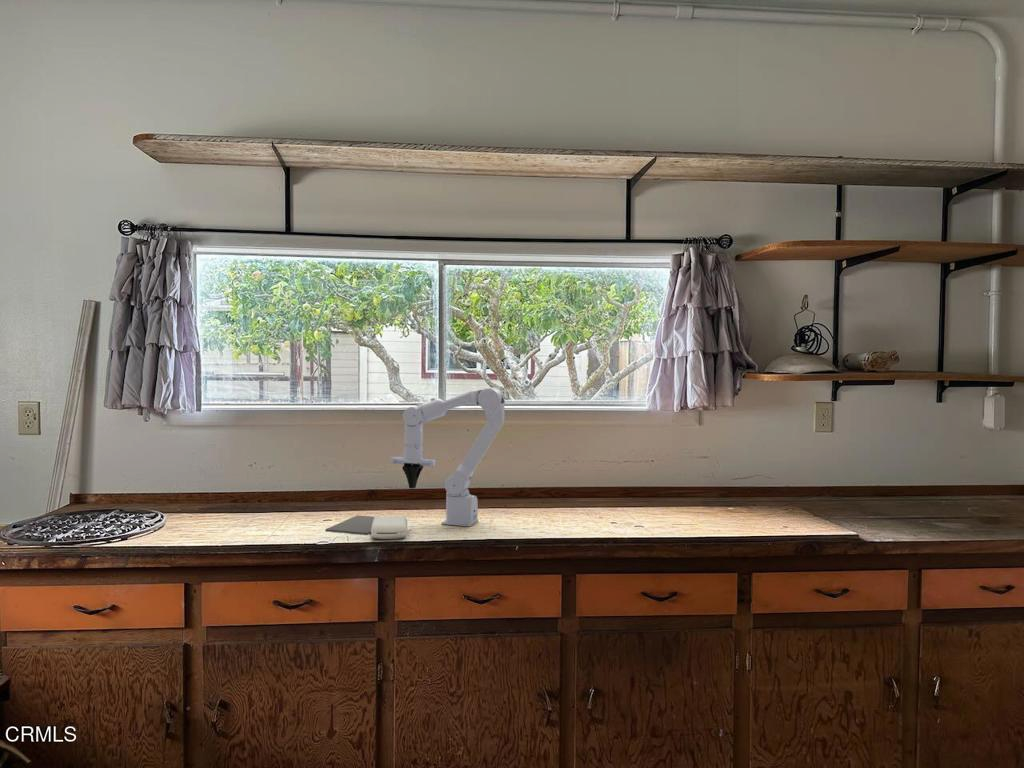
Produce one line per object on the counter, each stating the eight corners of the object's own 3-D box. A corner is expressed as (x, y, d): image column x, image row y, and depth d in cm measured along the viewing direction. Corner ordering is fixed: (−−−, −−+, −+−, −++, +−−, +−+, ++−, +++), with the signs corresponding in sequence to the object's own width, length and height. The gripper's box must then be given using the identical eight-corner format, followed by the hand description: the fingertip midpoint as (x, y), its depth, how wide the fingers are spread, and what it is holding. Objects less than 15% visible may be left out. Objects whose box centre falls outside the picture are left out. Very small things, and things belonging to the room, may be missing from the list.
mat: (396, 520, 199) (396, 518, 199) (367, 534, 182) (367, 533, 182) (357, 516, 203) (357, 515, 203) (325, 530, 186) (325, 529, 186)
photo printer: (407, 514, 188) (407, 525, 176) (407, 528, 189) (406, 541, 176) (372, 514, 187) (369, 526, 175) (372, 529, 187) (369, 541, 175)
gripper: (386, 444, 196) (385, 488, 197) (429, 448, 192) (428, 492, 193) (397, 442, 203) (396, 484, 204) (438, 445, 199) (437, 487, 199)
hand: (412, 487), depth 199 cm, fingers closed
